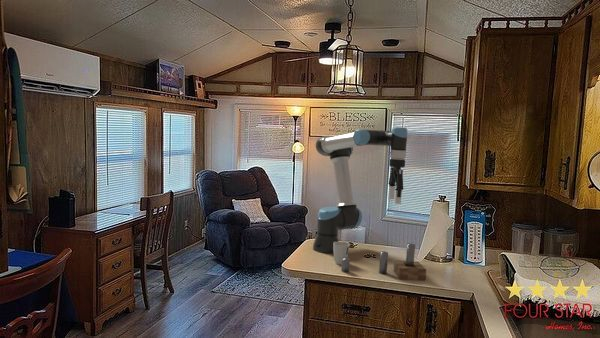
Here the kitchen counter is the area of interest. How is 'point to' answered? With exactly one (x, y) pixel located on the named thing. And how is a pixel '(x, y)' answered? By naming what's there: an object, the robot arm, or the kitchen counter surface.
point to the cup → (340, 251)
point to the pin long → (410, 255)
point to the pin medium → (383, 262)
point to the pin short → (345, 264)
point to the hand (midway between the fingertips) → (394, 201)
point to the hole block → (409, 271)
